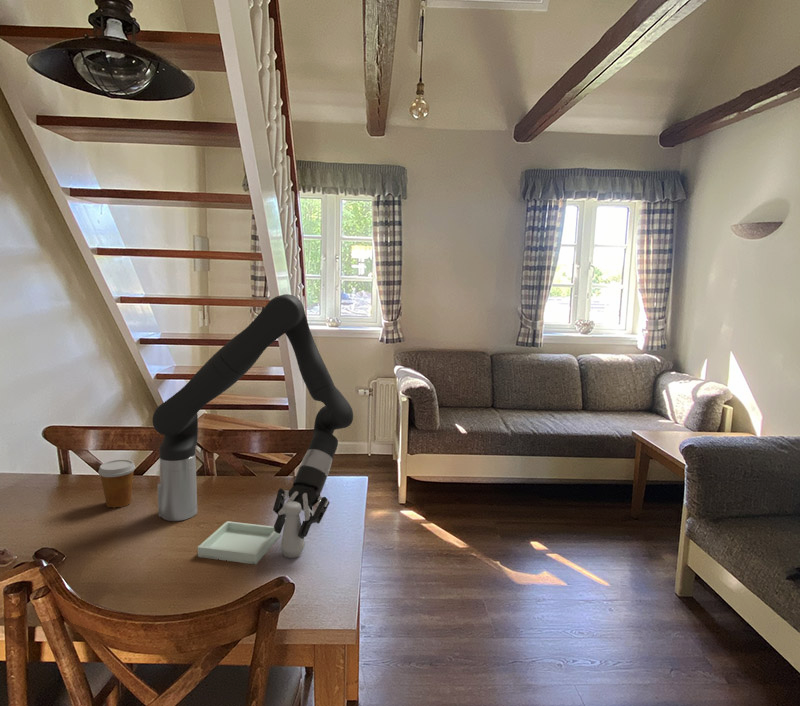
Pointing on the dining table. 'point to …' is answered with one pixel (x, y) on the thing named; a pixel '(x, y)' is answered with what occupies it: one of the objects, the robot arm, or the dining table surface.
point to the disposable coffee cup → (117, 482)
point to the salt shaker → (292, 531)
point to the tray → (239, 542)
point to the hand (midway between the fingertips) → (288, 534)
